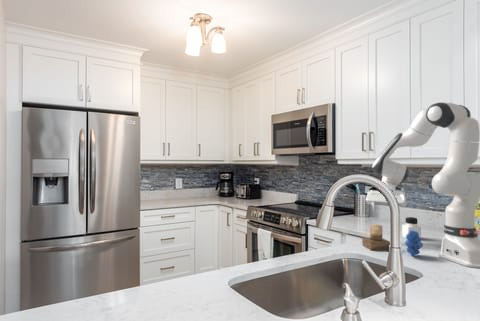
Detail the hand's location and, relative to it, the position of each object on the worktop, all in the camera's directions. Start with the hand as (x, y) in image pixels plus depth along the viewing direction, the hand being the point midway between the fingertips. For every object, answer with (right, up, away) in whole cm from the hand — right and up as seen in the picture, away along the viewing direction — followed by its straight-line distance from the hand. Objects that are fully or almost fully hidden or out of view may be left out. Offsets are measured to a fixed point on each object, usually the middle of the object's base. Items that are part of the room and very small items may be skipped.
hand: (383, 210), depth 169 cm
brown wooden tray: (-8, -17, -10) cm, 22 cm away
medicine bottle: (+22, -18, +13) cm, 31 cm away
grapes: (+3, -17, -25) cm, 30 cm away
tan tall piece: (-8, -17, -10) cm, 21 cm away
